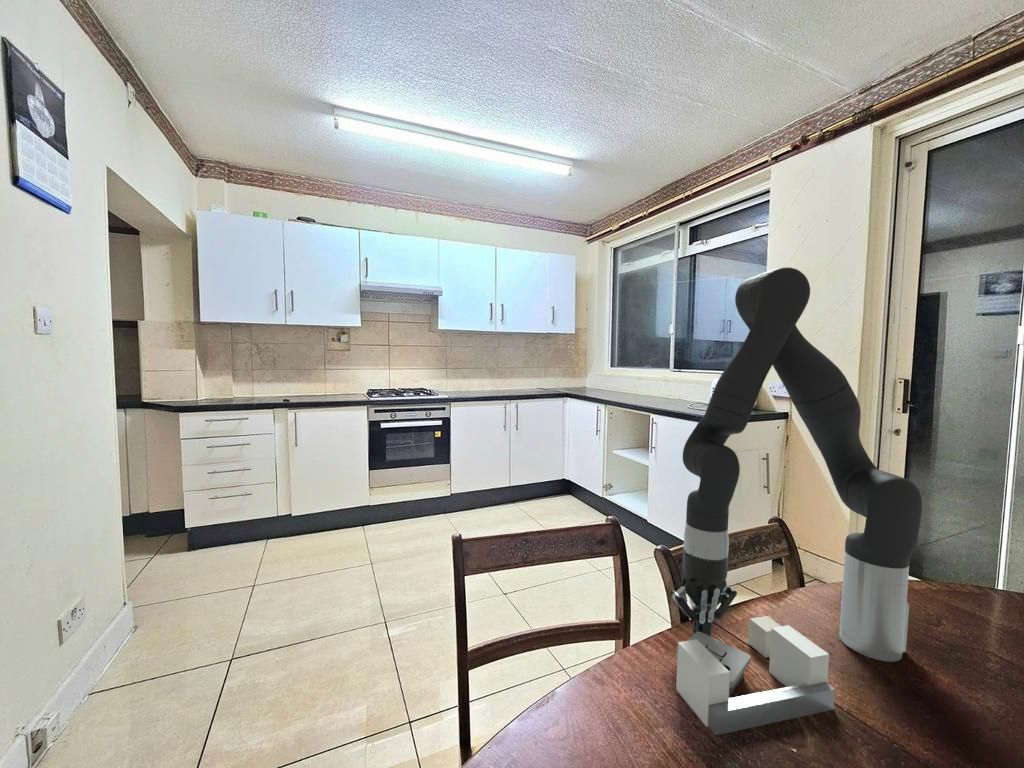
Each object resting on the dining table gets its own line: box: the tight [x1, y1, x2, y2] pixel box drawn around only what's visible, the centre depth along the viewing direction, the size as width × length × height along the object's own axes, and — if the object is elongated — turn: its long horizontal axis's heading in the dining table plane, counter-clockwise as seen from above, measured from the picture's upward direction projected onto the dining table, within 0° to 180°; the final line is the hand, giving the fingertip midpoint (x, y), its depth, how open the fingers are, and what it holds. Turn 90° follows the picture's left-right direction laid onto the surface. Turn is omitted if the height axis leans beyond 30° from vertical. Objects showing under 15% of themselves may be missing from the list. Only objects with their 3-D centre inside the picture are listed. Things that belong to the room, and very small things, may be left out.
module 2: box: [768, 624, 830, 687], centre depth 72 cm, size 4×8×8 cm, turn 13°
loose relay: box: [748, 615, 782, 658], centre depth 81 cm, size 4×4×5 cm
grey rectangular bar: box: [707, 681, 836, 736], centre depth 65 cm, size 21×2×4 cm, turn 103°
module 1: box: [675, 639, 730, 728], centre depth 67 cm, size 4×8×8 cm, turn 13°
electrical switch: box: [674, 632, 752, 698], centre depth 74 cm, size 9×5×9 cm
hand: (701, 638), depth 81 cm, fingers closed
